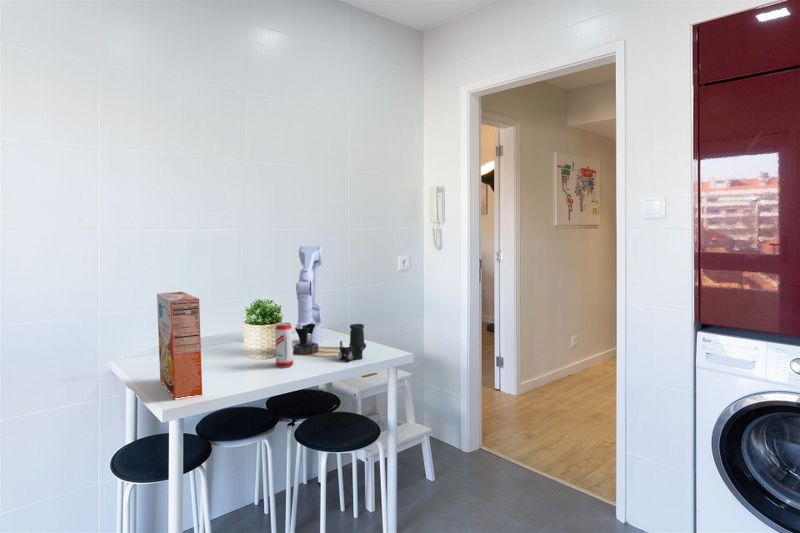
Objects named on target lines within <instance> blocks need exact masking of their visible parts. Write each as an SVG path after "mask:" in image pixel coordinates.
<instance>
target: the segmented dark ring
mask: <svg viewBox="0 0 800 533" xmlns="http://www.w3.org/2000/svg"><path fill="white" fill-rule="evenodd" d="M318 346H319V344H317V343H314V342H312V346H309V347H300V342H297V343H294V344H293V353H294V354H297V355H311V354H315V353H317V352H319V351H318Z"/></svg>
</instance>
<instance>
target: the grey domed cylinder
mask: <svg viewBox="0 0 800 533" xmlns="http://www.w3.org/2000/svg"><path fill="white" fill-rule="evenodd" d="M299 343H300V342H299ZM309 346H312V334H310V333H308V335H307V343H306V345H301V343H300V347H309Z"/></svg>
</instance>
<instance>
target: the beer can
mask: <svg viewBox="0 0 800 533" xmlns="http://www.w3.org/2000/svg"><path fill="white" fill-rule="evenodd" d="M274 333H275V334H274V336H275V337H274V338H275V366H277V367H278V368H280V369H285V368H286V367H287V368H290V367H292V366H293V364H294V356H293V345H294V344H293V337H294V336H293V327H292V325H291V323H290V322H278V323H277V324H276V326H275V330H274Z"/></svg>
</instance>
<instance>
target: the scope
mask: <svg viewBox="0 0 800 533" xmlns="http://www.w3.org/2000/svg"><path fill="white" fill-rule="evenodd" d="M349 329H350V330H349V331H350V334H349V346H343V340H340V341H339V347H340V352H339V357H341V358H339V361H345V362H346V363H349V362H350V363H351V362H352V361H361V360H362V359H363V351H364V350H365V349H366V348H367V344H366V342H365V331H364V329H365V325H364V324H363V323H353V324H350V325H349Z"/></svg>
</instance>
